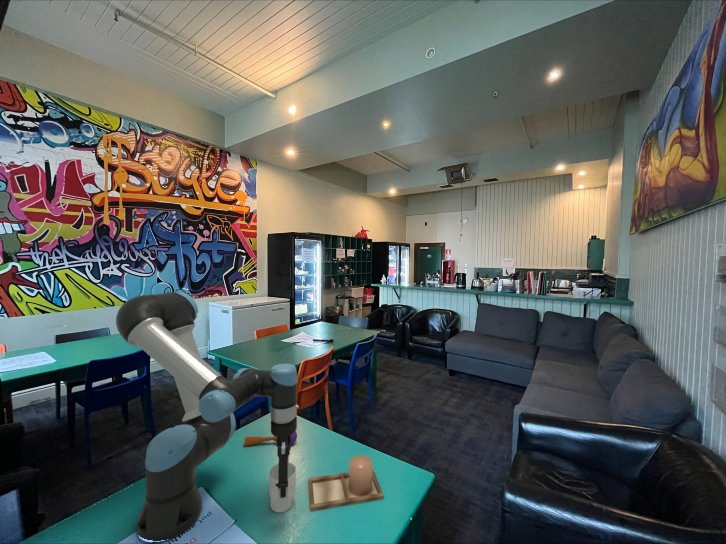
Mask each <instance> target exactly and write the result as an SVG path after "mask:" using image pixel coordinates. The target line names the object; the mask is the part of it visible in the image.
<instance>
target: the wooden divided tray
mask: <svg viewBox="0 0 726 544" xmlns="http://www.w3.org/2000/svg"><path fill="white" fill-rule="evenodd" d="M307 481H308V482H307V483H308V484H307V485H308V495H309V496H308V497H309V509H310V511H309V512H315V511H321V510H327V509H328V510H329V509H333V508H338V507H339V508H340V507H344V506H350V505H354V504H356V505H357V504H364V503H368V502H375V501H380V500H384V498H385V496H384V493H383V491H382V487H381V485H380V483H379V480H378V477H377V475H376V473H375V469H374V468H372V490H371V492H370V493H369V494H368V495H365V496H356V495H354V494H352V493H351V492H350V490H349V472H341V473H336V474H328V475H327V474H326V475H321V476H314V477H309V478H308V479H307Z"/></svg>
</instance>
